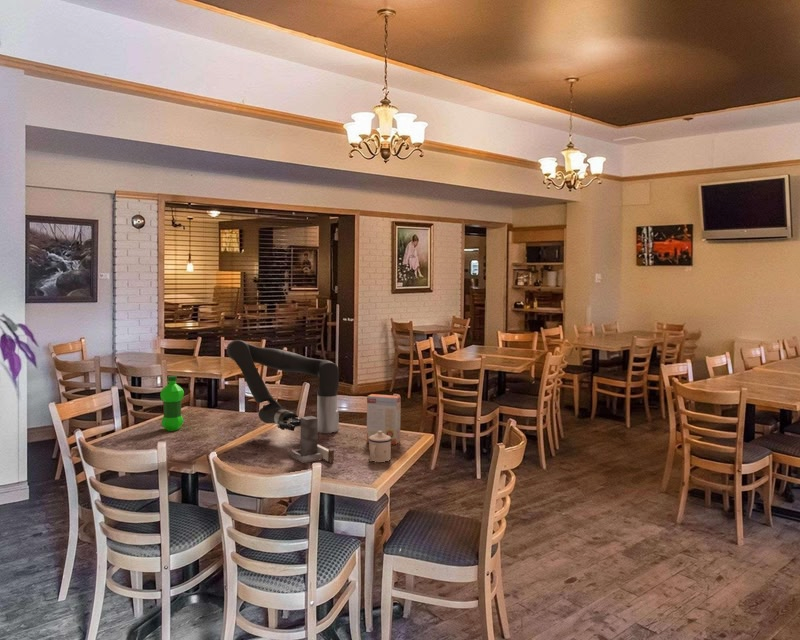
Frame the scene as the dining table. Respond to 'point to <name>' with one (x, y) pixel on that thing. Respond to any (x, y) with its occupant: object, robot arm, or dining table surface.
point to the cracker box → (384, 416)
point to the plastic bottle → (172, 404)
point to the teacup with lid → (379, 447)
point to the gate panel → (324, 451)
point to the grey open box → (310, 456)
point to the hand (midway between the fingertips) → (303, 427)
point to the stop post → (309, 435)
